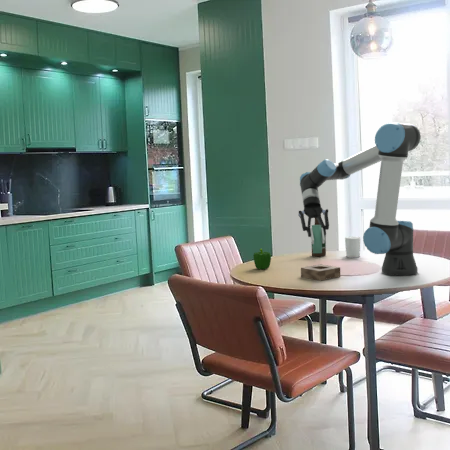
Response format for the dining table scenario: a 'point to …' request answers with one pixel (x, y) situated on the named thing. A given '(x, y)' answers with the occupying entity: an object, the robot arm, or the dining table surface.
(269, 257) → the bell pepper
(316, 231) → the peg
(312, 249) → the beer bottle
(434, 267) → the dining table surface
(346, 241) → the white cup
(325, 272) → the socket block
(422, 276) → the dining table surface
